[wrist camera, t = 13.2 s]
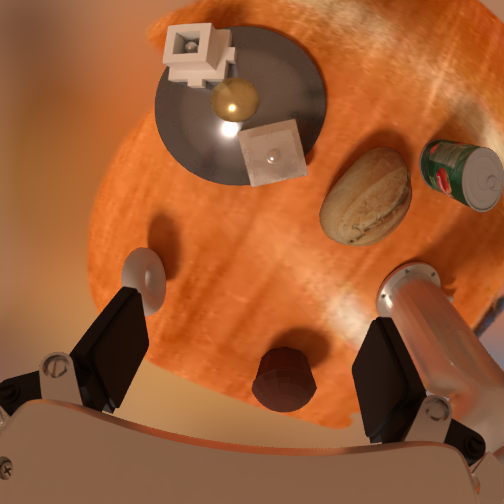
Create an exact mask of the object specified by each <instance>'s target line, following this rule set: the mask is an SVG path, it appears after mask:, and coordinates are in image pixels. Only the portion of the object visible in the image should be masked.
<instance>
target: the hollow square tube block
mask: <svg viewBox="0 0 504 504" xmlns="http://www.w3.org/2000/svg"><path fill="white" fill-rule="evenodd" d="M231 41H232V33H231V30H226V29H222V30H216V29H215V28H214V26H213V25H212V23H197V24H183V25H173V26H168V31H167V37H166V43H165V49H164V56H163V64H165V65H167V66H169V67H170V70H169V78H168V80H170V81H172V82H188V85H187V86H189V87H191V88H206V81H207V82H222V81H223V80H226V79H227V74H228V65H229V64H236V58H237V50H236V48H235V47H231ZM189 42H195V43H196V44H197V45H198V46H199V47H198V53H188V52H187V51H186V50H185V45H186V44H187V43H189Z"/></svg>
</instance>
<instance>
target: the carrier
mask: <svg viewBox="0 0 504 504" xmlns="http://www.w3.org/2000/svg"><path fill="white" fill-rule="evenodd" d="M222 29H226V30H231V33H232V41H231V47H235V48H236V50H237V58H236V64H229V65H228V74H227V79H226V80H223V81H222V82H207V81H206V88H191V87H189V86H187V85H188V82H172V81H170V80H168V78H169V70H170V67H169V66H167V67H166V69H165V71H164V72H163V75H162V77H161V79H160V81H159V85H158V88H157V91H156V98H155V118H156V124H157V128H158V131H159V134H160V136H161V139H162V141H163V143H164V144H165V146H166V148H167V150H168V151H169V152H170V153H171V155H172V156H173V157H174V158H175V159H176V160H177V161H178V162H179V163H180V164H181V165H182V166H183V167H185V168H186V169H187V170H188V171H190V172H192V173H193V174H195V175H197V176H199V177H201V178H203V179H206V180H208V181H212V182H215V183H219V184H225V185H239V186H241V185H251V186H252V187H256V186H260V185H264V184H269V183H273V182H278V181H282V180H287V179H292V178H296V177H301V176H306V175H308V171H307V167H306V162H305V158H304V157H305V156H306V155H307V153H308V152H309V151H310V149H311V148H312V147H313V145H314V144H315V142H316V140H317V138H318V136H319V134H320V131H321V128H322V125H323V122H324V117H325V108H326V99H325V91H324V87H323V83H322V80H321V77H320V75H319V72H318V70H317V68H316V67H315V65H314V63H313V62H312V60H311V59H310V58H309V57H308V56H307V54H306V53H305V52H304V51H303V50H302V49H301V48H300V47H299V46H297V45H296V44H295V43H293V42H292V41H290V40H289V39H287V38H285V37H284V36H282V35H280V34H278V33H275V32H272V31H269V30H266V29H262V28H257V27H248V26H235V27H228V28H222ZM222 29H218V30H222ZM198 47H199V46H198V45H197V44H196V43H195V42H189V43H187V44H186V45H185V50H186V51H187V52H188V53H198Z"/></svg>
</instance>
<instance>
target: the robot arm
mask: <svg viewBox="0 0 504 504" xmlns="http://www.w3.org/2000/svg"><path fill="white" fill-rule="evenodd" d="M453 300H454V297H453V295H446V294H445V293H444V292H443V291H442V290H441V281H440V277H439V275H438V273H437V271H436V270H435V269H434V268H433V267H432V266H431V265H429V264H427V263H425V262H411V263H407V264H405V265H403V266H400V267H399V268H397V269H396V270H394V271H393V272H392V273H391V274H390V275H389V276H388V277H387V278H386V279H385V281H384V282H383V283H382V285H381V287H380V289H379V291H378V294H377V298H376V307H377V311H378V314H379V316H380V317H377V318H376V320H373V321H372V323H371V325H370V327H369V330H368V332H367V334H366V337H365V339H364V341H363V344H362V346H361V348H360V350H359V352H358V355H357V357H356V359H355V361H354V363H353V365H352V375H353V379H354V383H355V388H356V392H357V396H358V401H359V405H360V410H361V415H362V420H363V424H364V429H365V434H366V436H367V437H369V438H370V443H378V442H382V444H378V445H368V446H356V447H341V448H315V449H314V448H311V449H310V448H307V449H306V448H304V449H303V448H273V447H259V446H248V445H238V444H231V443H224V442H216V441H211V440H204V439H199V438H194V437H189V436H184V435H179V434H175V433H170V432H166V431H162V430H158V429H154V428H150V427H147V426H143V425H140V424H137V423H133V422H130V421H127V420H124V419H120V418H117V417H114V416H111V415H108V414H105V413H103V412H102V410H103V411H106V412H109V413H112V414H113V412H114V410H115V408H119V407H120V405H121V403H122V401H123V399H124V397H125V395H126V393H127V390H128V388H129V386H130V384H131V382H132V380H133V378H134V376H135V374H136V372H137V370H138V367H139V366H140V364H141V362H142V360H143V358H144V356H145V354H146V352H147V350H148V347H149V338H148V333H147V327H146V321H145V315H144V308H143V302H142V295H141V293H139V292H138V290H137V289H136V288H132V287H126V286H123V287H122V288H121V289H120V290H119V291H118V293H117V294H116V295H115V296H114V298H113V299H112V300H111V301H110V302H109V304H108V305H107V306H106V307H105V309H104V310H103V311H102V312H101V314H100V315H99V316H98V317H97V319H96V320H95V321H94V322H93V324H92V325H91V326H90V328H89V329H88V330H87V332H86V333H85V334H84V335H83V337H82V338H81V340H80V341H79V342H78V343H77V345H76V346H75V347H74V349H73V350H72V352H71V353H70V354H69V355H68V354H66V353H64V352H54V353H51V354H48V355H47V356H46V357H44V358H43V360H42V361H41V363H40V365H39V370H38V371H35V372H32V373H28V374H24V375H21V376H17V377H13V378H9V379H6V380H4V381H3V382H1V383H0V504H504V446H503V445H504V371H503V370H502V369H501V368H500V366H499V365H498V364H497V363H496V362H495V361H494V359H493V358H492V357H491V356H490V354H489V353H488V352H487V350H486V349H485V348H484V346H483V345H482V343H481V342H480V341H479V339H478V338H477V336H476V335H475V334H474V332H473V331H472V330H471V328H470V327H469V326H468V324H467V323H466V322H465V320H464V319H463V318H462V316H461V315H460V314H459V312H458V311H457V310H456V309H455V307H454V306H453V305H452V302H453ZM424 387H425V388H424ZM425 389H427V390H428V391H429V392H431V393H433V394H435V395H430V396H428V397H427V395H426V393H425V392H426V390H425ZM441 396H442V397H441ZM443 397H446V398H450V399H449V401H447V400H446V399H445V398H443ZM501 446H502V447H501ZM500 447H501V448H500Z"/></svg>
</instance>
